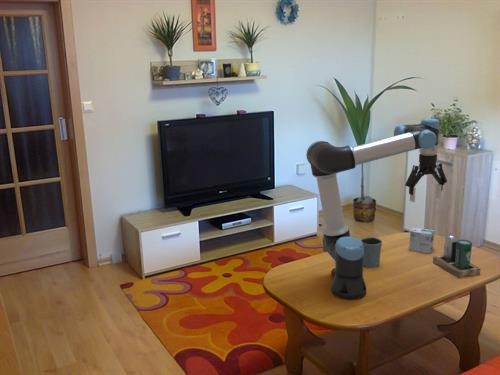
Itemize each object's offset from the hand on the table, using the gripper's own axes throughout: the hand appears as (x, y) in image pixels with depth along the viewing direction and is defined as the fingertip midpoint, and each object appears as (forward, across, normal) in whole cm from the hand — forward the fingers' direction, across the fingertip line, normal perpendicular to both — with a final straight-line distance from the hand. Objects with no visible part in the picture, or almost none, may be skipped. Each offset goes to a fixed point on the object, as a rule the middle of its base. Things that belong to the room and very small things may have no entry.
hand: (425, 199), depth 232 cm
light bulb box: (+35, +15, +21) cm, 43 cm away
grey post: (+35, +16, 0) cm, 38 cm away
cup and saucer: (+35, -36, +7) cm, 51 cm away
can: (+35, +16, -8) cm, 39 cm away
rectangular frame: (+35, +16, -4) cm, 39 cm away
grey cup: (+35, -18, +15) cm, 42 cm away
